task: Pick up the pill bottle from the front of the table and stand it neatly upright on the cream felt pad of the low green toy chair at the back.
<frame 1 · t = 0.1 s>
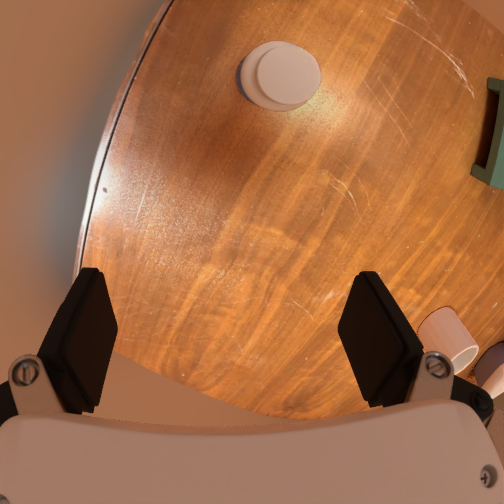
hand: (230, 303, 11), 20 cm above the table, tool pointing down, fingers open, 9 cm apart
mug: (428, 330, 46), on the table
pill bottle: (265, 77, 24), on the table
bowl: (489, 355, 60), on the table
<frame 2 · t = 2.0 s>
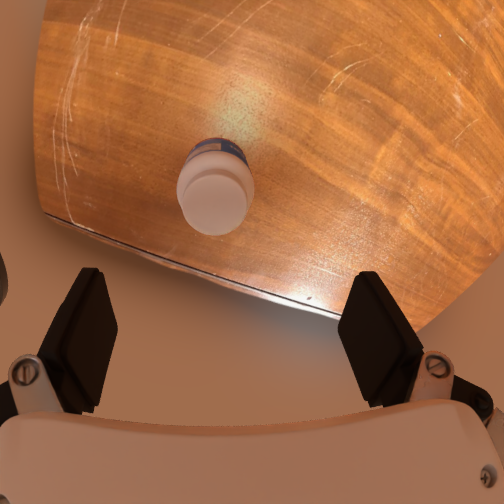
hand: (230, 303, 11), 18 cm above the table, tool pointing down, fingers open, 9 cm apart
pill bottle: (216, 164, 26), on the table
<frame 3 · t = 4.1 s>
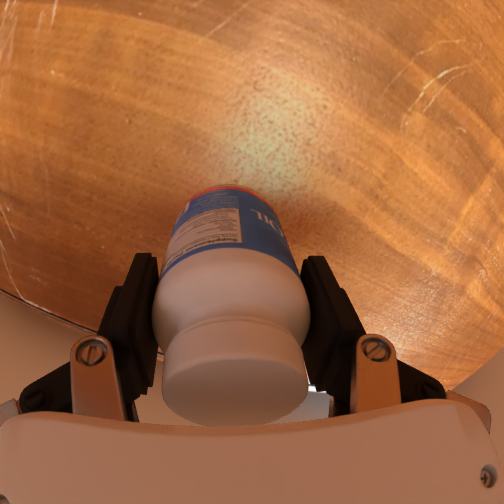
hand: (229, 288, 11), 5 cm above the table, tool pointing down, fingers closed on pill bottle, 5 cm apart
pill bottle: (226, 228, 16), on the table, touching gripper
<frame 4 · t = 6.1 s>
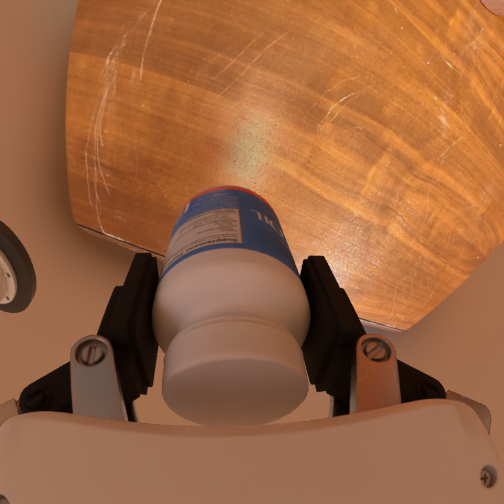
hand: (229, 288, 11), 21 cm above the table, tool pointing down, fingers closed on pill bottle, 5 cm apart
mug: (495, 0, 17), on the table
pill bottle: (226, 228, 16), point 16 cm above the table, touching gripper
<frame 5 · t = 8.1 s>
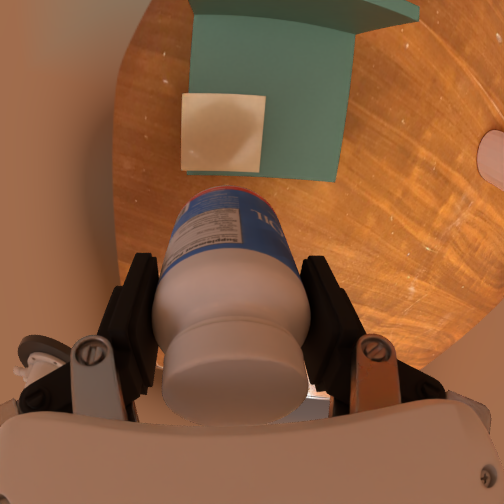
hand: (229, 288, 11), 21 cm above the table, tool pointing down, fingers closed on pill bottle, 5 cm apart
mug: (497, 162, 31), on the table
pill bottle: (226, 228, 16), point 16 cm above the table, touching gripper
green toy chair: (265, 90, 26), on the table
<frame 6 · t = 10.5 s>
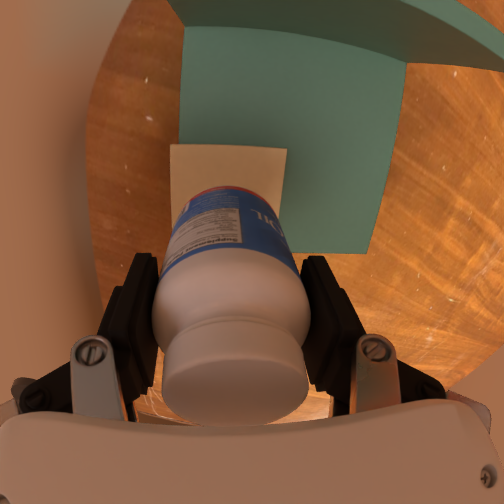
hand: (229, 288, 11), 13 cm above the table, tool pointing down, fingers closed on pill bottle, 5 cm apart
pill bottle: (226, 228, 16), point 8 cm above the table, touching gripper
green toy chair: (282, 130, 21), on the table
when the fingers open (9 cm above the table, at t = 12.1 s): pill bottle stays where it is, resting on green toy chair.
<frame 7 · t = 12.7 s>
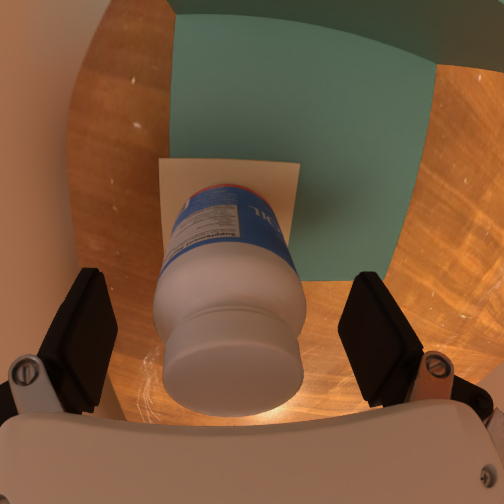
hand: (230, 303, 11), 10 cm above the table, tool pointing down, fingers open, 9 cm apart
pill bottle: (225, 225, 16), point 4 cm above the table, touching green toy chair
green toy chair: (292, 139, 18), on the table
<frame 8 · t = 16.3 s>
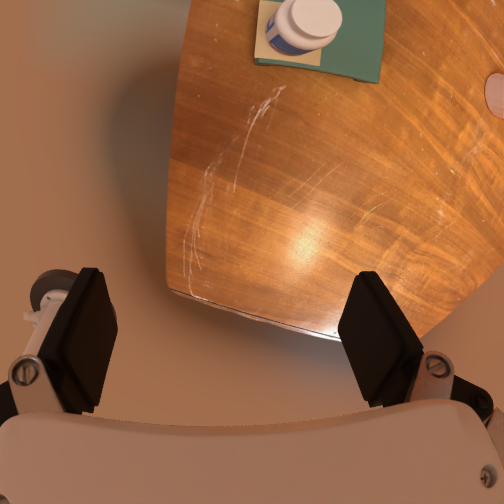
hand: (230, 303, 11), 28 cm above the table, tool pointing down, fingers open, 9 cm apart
mug: (501, 101, 32), on the table
pill bottle: (289, 33, 25), point 4 cm above the table, touching green toy chair
green toy chair: (318, 14, 26), on the table
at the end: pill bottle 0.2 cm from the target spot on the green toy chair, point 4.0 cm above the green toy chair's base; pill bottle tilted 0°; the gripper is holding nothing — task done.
